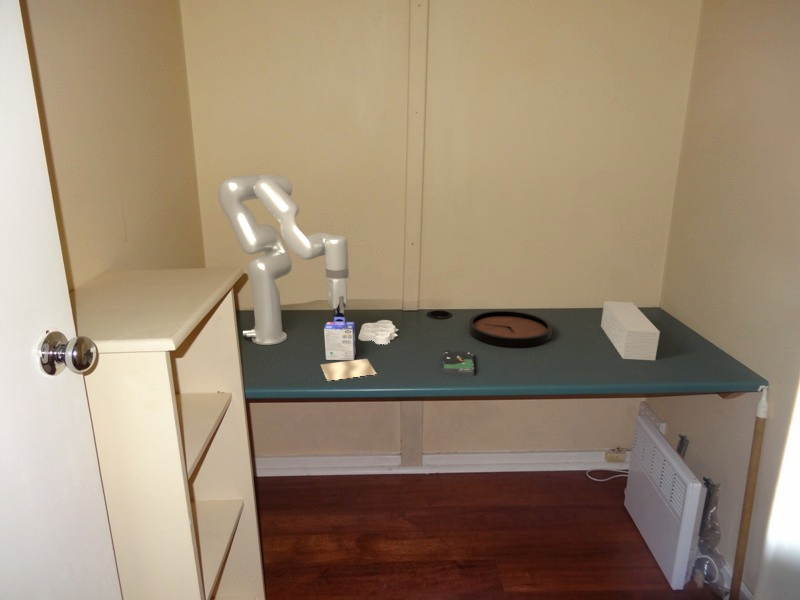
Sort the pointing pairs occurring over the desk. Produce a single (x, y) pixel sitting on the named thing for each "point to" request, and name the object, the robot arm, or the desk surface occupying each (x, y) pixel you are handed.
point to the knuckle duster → (378, 332)
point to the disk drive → (458, 363)
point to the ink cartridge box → (340, 340)
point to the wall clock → (510, 329)
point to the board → (347, 369)
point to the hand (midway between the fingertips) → (339, 324)
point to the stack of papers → (630, 331)
